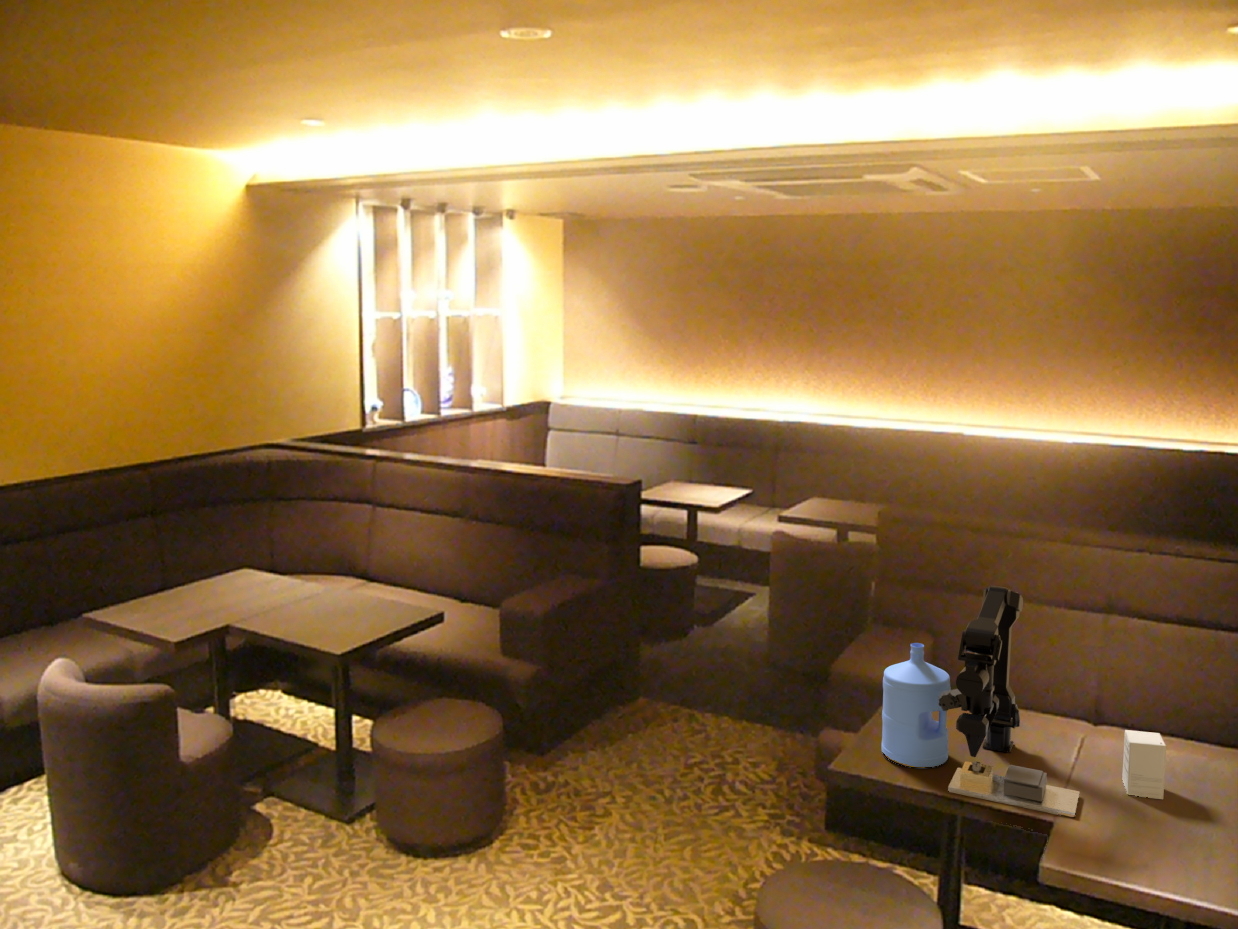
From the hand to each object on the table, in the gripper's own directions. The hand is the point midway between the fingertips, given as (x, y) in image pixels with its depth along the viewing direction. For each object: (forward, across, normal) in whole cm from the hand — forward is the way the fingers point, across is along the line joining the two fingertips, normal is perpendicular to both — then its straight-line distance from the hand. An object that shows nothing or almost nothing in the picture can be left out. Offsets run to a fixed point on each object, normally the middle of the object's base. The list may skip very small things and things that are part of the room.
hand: (976, 748), depth 222 cm
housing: (+8, 0, +10) cm, 13 cm away
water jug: (+9, -10, -16) cm, 21 cm away
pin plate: (+9, 0, +8) cm, 12 cm away
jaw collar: (+8, 0, 0) cm, 8 cm away
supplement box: (+9, -15, +33) cm, 38 cm away
